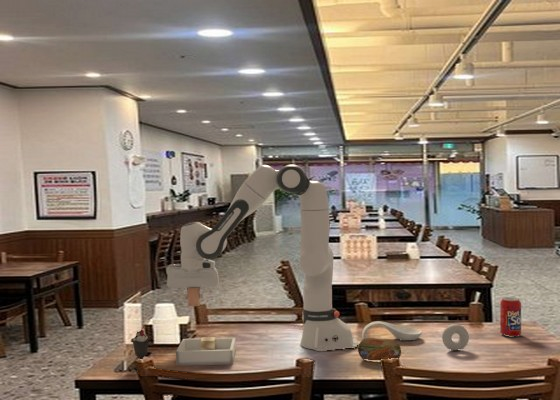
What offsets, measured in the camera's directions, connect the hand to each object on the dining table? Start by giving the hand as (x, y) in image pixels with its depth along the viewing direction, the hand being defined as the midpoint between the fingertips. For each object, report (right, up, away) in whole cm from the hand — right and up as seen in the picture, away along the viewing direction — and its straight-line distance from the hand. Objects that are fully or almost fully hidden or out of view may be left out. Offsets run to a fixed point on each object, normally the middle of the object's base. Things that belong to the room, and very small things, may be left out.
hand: (193, 298), depth 226 cm
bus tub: (+7, -19, -15) cm, 25 cm away
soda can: (+127, -16, +5) cm, 128 cm away
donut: (+99, -17, -13) cm, 102 cm away
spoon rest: (+79, -17, +3) cm, 81 cm away
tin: (+69, -19, -23) cm, 75 cm away
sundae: (-15, -20, -24) cm, 35 cm away
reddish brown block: (0, -3, 0) cm, 3 cm away
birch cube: (+7, -18, -11) cm, 23 cm away
